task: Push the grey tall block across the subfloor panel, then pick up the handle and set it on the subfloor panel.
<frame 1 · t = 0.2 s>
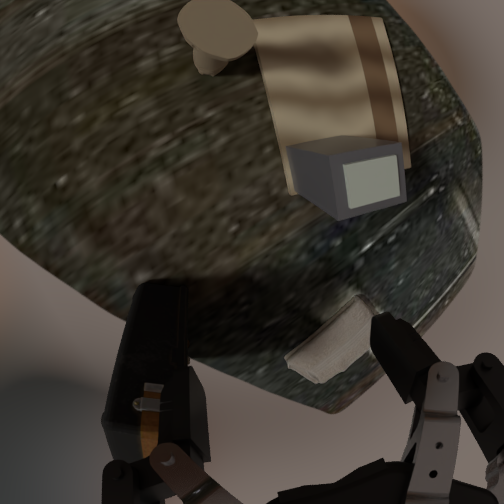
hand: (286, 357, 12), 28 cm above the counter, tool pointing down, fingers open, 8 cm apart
voltmeter: (161, 322, 44), on the counter
washcloth: (333, 339, 52), on the counter
subfloor panel: (339, 95, 34), on the counter
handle: (209, 65, 31), on the counter
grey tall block: (318, 162, 37), point 1 cm above the counter, touching subfloor panel
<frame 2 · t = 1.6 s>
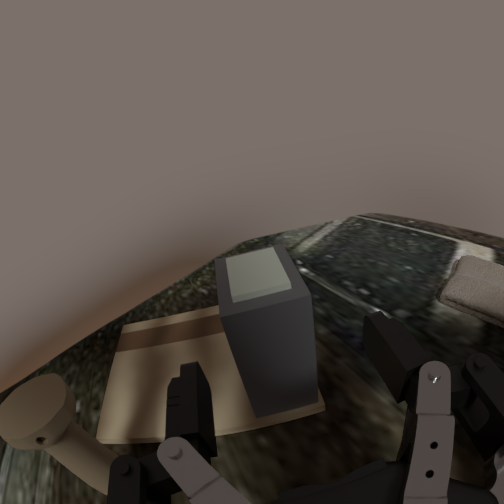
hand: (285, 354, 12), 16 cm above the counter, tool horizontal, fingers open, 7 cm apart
washcloth: (497, 304, 30), on the counter
subfloor panel: (200, 366, 33), on the counter
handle: (138, 493, 19), on the counter
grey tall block: (278, 380, 28), point 1 cm above the counter, touching subfloor panel
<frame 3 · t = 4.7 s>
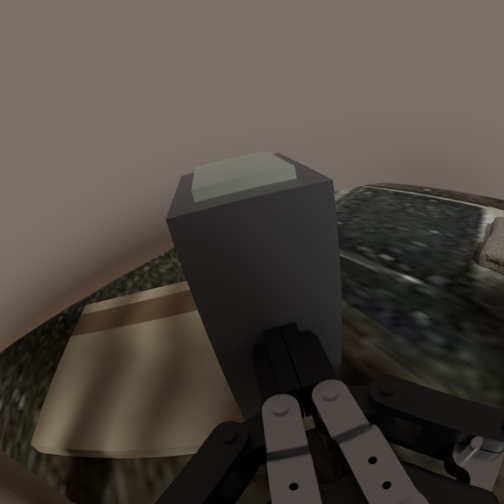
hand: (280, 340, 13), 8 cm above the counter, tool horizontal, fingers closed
subfloor panel: (172, 354, 24), on the counter
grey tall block: (279, 364, 19), point 1 cm above the counter, touching gripper, subfloor panel
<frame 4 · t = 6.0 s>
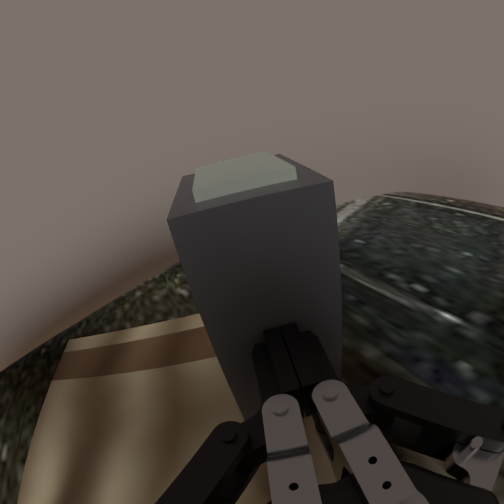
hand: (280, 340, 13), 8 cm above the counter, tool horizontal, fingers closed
subfloor panel: (168, 416, 18), on the counter
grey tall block: (279, 365, 19), point 1 cm above the counter, touching gripper, subfloor panel
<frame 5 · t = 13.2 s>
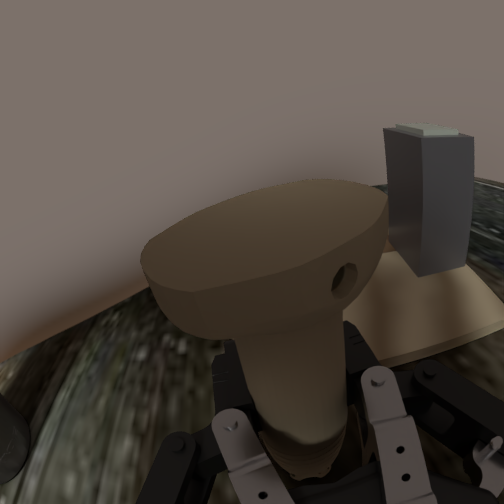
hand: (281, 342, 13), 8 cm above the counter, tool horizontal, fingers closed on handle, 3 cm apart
subfloor panel: (360, 289, 27), on the counter
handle: (308, 461, 14), on the counter, touching gripper
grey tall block: (425, 252, 28), point 1 cm above the counter, touching subfloor panel
when the fingers open (10 cm above the counter, at t = 18.3 s): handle drops 1 cm, resting on subfloor panel.
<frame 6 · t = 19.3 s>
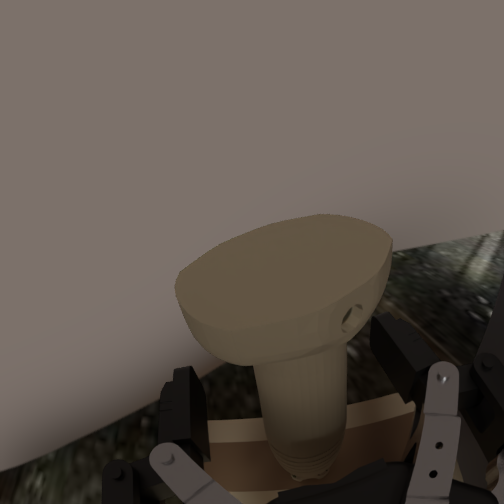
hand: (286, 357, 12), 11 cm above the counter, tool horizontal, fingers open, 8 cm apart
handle: (308, 463, 15), point 1 cm above the counter, touching subfloor panel
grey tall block: (493, 447, 10), point 1 cm above the counter, touching subfloor panel
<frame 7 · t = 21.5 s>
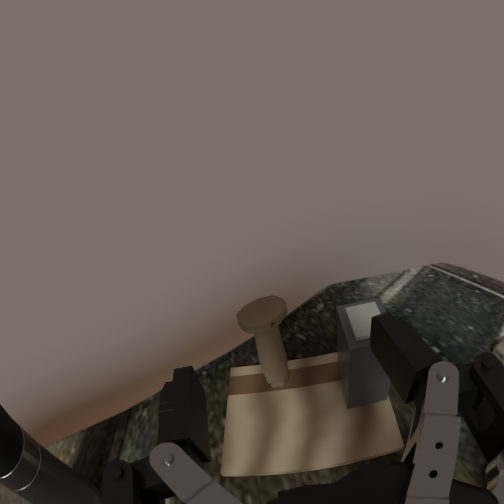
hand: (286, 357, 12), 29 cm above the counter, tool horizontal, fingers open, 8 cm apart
subfloor panel: (307, 411, 38), on the counter
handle: (278, 382, 43), point 1 cm above the counter, touching subfloor panel
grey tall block: (361, 383, 39), point 1 cm above the counter, touching subfloor panel
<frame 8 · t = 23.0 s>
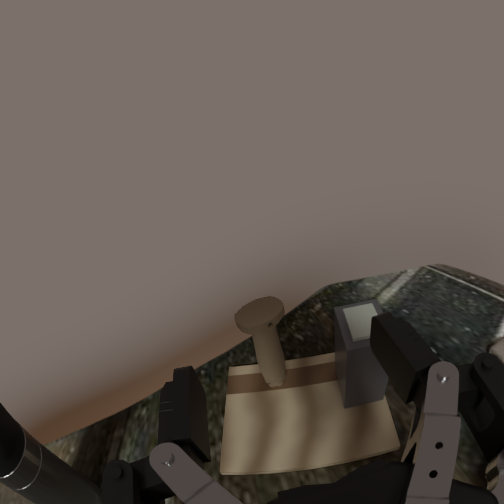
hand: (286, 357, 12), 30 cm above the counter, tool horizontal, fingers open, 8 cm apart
subfloor panel: (305, 410, 39), on the counter
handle: (276, 381, 44), point 1 cm above the counter, touching subfloor panel
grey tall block: (358, 383, 40), point 1 cm above the counter, touching subfloor panel
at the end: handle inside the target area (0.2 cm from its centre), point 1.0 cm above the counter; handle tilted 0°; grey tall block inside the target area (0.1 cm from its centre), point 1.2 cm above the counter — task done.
